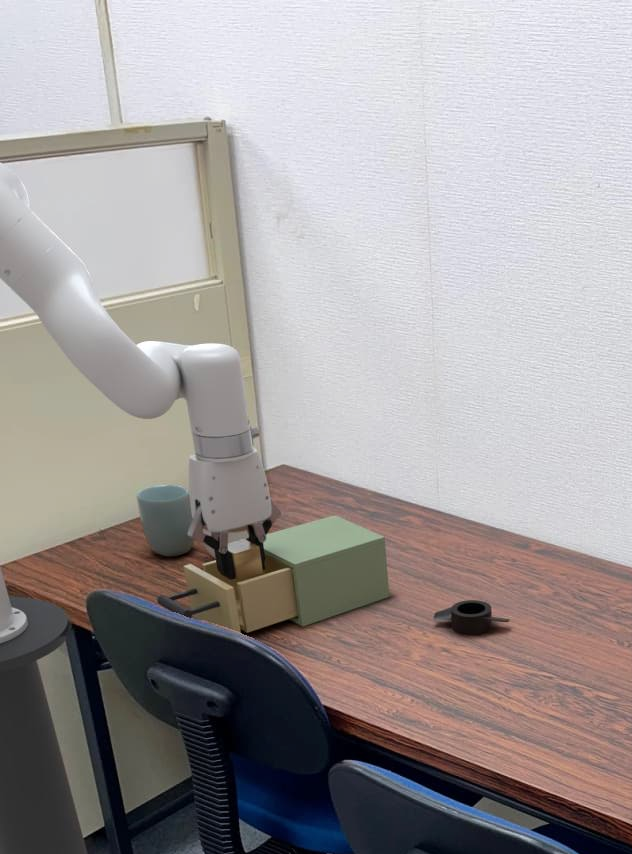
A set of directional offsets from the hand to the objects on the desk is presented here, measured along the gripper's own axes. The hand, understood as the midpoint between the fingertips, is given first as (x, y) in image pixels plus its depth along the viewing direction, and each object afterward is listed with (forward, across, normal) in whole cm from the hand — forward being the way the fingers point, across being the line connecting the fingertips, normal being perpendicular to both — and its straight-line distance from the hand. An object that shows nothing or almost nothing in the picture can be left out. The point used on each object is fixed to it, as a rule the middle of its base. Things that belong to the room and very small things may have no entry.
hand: (242, 570), depth 168 cm
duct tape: (+8, -22, +23) cm, 33 cm away
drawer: (+7, +1, 0) cm, 7 cm away
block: (0, 0, 0) cm, 0 cm away
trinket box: (+8, -11, -22) cm, 26 cm away
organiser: (+8, -12, 0) cm, 15 cm away
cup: (+8, -5, -32) cm, 33 cm away
